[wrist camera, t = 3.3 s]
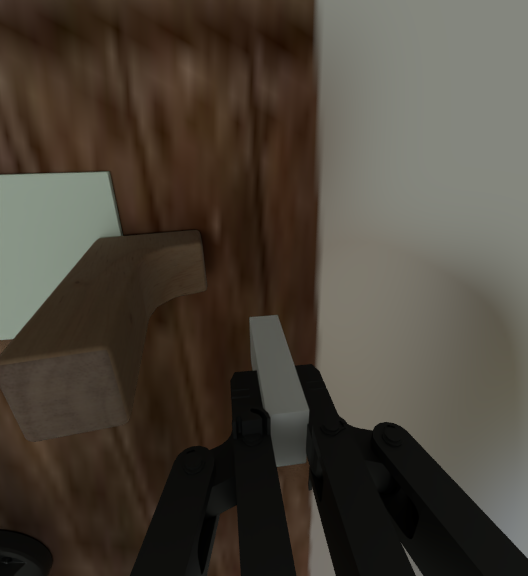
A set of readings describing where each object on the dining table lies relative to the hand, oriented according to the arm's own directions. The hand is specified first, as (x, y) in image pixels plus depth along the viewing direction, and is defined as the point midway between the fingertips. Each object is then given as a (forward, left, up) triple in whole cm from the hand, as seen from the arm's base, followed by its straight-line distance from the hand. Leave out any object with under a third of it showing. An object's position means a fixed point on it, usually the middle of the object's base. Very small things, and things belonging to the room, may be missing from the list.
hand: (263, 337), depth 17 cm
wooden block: (-8, 0, -15) cm, 17 cm away
